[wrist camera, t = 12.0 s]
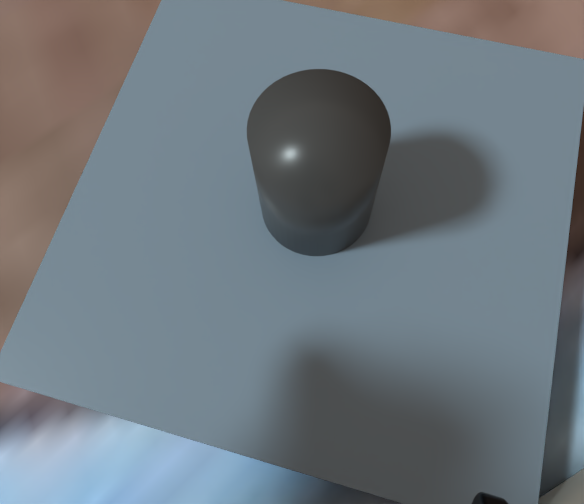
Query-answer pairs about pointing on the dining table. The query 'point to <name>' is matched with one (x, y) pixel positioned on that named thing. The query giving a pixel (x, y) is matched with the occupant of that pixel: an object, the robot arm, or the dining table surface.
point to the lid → (320, 249)
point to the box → (566, 491)
